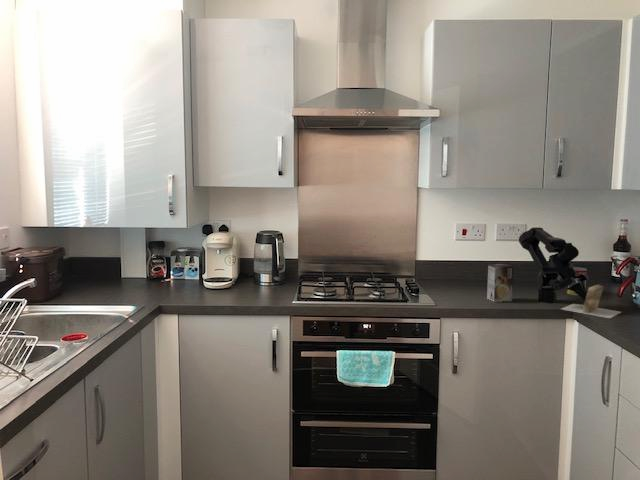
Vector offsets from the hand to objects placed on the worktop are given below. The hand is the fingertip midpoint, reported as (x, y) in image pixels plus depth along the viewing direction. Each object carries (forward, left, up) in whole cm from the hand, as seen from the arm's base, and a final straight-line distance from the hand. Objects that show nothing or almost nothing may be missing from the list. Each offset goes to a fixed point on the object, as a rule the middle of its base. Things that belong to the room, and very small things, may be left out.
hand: (585, 299), depth 214 cm
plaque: (+1, +3, -5) cm, 6 cm away
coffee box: (-34, -6, -6) cm, 35 cm away
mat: (+1, +3, -5) cm, 6 cm away
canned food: (-16, +34, -6) cm, 38 cm away
